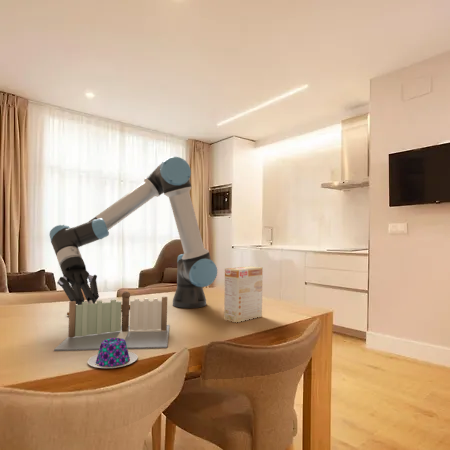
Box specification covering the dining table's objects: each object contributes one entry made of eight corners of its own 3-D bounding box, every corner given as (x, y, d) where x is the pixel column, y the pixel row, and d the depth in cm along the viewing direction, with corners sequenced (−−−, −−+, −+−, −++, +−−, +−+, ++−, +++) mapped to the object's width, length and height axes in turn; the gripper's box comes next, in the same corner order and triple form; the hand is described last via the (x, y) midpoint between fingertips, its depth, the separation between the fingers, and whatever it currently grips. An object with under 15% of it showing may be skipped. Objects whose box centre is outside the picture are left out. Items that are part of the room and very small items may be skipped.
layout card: (169, 326, 118) (169, 324, 118) (167, 347, 96) (167, 346, 96) (79, 327, 114) (79, 326, 114) (54, 350, 92) (54, 349, 92)
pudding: (76, 365, 83) (76, 343, 83) (112, 350, 93) (112, 331, 94) (114, 375, 77) (114, 351, 78) (147, 358, 88) (147, 337, 88)
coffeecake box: (249, 313, 139) (250, 265, 140) (262, 316, 134) (263, 267, 135) (223, 319, 129) (224, 267, 129) (236, 323, 124) (237, 269, 124)
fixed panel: (166, 330, 113) (167, 296, 113) (166, 332, 111) (167, 297, 111) (130, 331, 111) (131, 296, 112) (129, 333, 109) (130, 297, 110)
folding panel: (119, 329, 110) (120, 297, 110) (121, 331, 108) (122, 298, 109) (67, 336, 102) (69, 301, 102) (68, 337, 101) (69, 302, 101)
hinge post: (129, 331, 112) (130, 290, 112) (128, 333, 109) (129, 292, 109) (121, 331, 111) (122, 290, 112) (120, 333, 109) (121, 292, 109)
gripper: (54, 255, 111) (76, 316, 100) (94, 255, 122) (118, 310, 111) (46, 270, 115) (67, 330, 103) (86, 268, 125) (108, 323, 114)
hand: (93, 320), depth 107 cm, fingers closed
